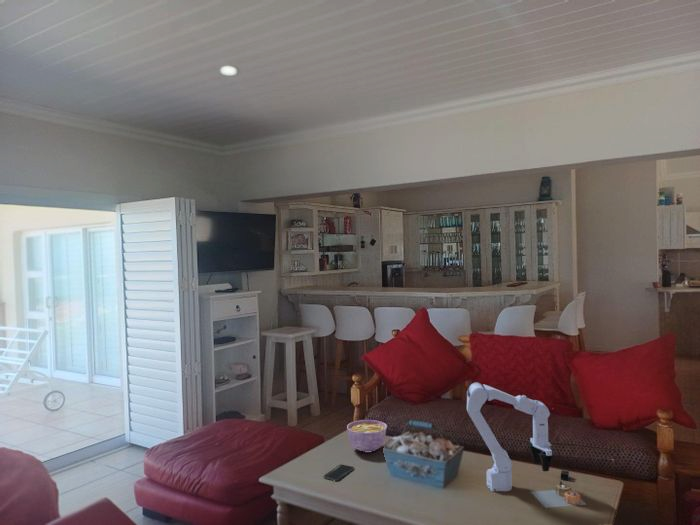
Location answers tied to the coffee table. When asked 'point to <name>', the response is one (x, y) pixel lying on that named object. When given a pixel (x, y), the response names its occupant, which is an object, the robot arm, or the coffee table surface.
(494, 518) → the coffee table surface
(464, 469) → the coffee table surface
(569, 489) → the gear
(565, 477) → the black piece
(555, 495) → the gear board
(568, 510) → the coffee table surface
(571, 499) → the gear
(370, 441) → the bowl of food
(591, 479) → the coffee table surface
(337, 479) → the phone
